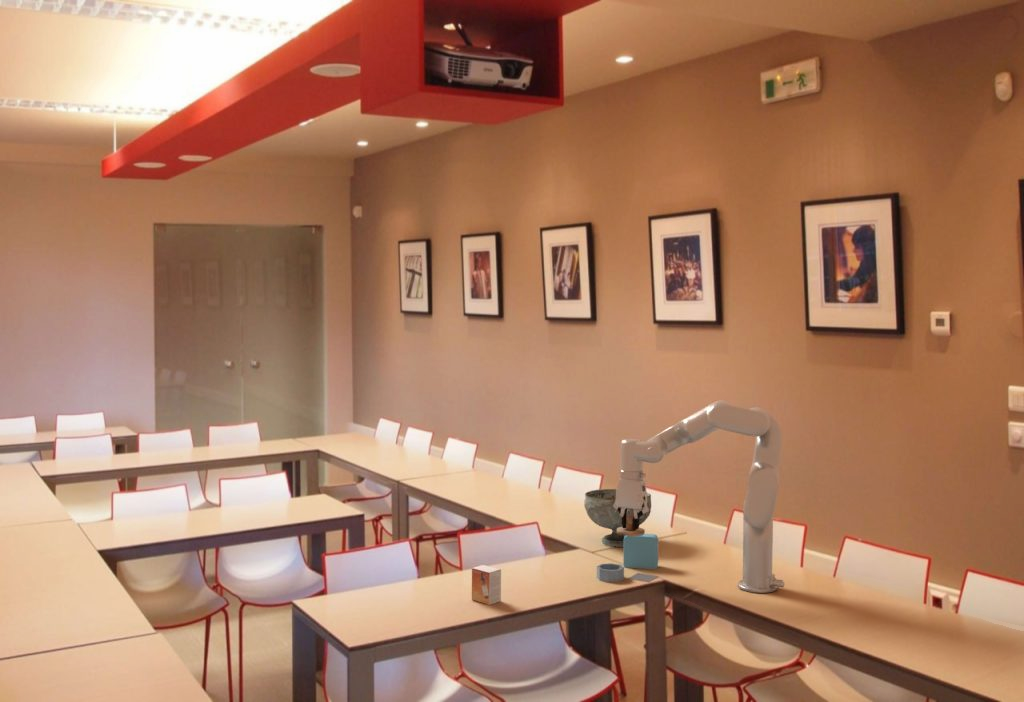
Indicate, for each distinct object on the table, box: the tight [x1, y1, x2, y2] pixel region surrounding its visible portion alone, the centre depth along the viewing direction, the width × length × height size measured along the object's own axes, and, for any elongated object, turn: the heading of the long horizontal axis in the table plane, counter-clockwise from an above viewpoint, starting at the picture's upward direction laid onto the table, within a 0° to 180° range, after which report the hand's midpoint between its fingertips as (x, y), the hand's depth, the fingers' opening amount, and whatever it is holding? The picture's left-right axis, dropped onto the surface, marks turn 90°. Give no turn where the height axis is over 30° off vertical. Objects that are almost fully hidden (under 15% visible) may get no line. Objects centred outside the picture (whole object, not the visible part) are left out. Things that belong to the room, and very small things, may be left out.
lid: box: [617, 514, 646, 536], centre depth 335 cm, size 10×10×6 cm
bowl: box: [596, 562, 625, 583], centre depth 335 cm, size 9×9×4 cm
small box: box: [471, 564, 502, 606], centre depth 313 cm, size 8×6×10 cm
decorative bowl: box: [583, 488, 652, 548], centre depth 386 cm, size 26×26×20 cm
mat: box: [627, 572, 660, 583], centre depth 336 cm, size 8×8×1 cm
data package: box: [622, 533, 659, 570], centre depth 350 cm, size 12×4×12 cm, turn 79°
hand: (630, 528), depth 335 cm, fingers closed on lid, 3 cm apart
